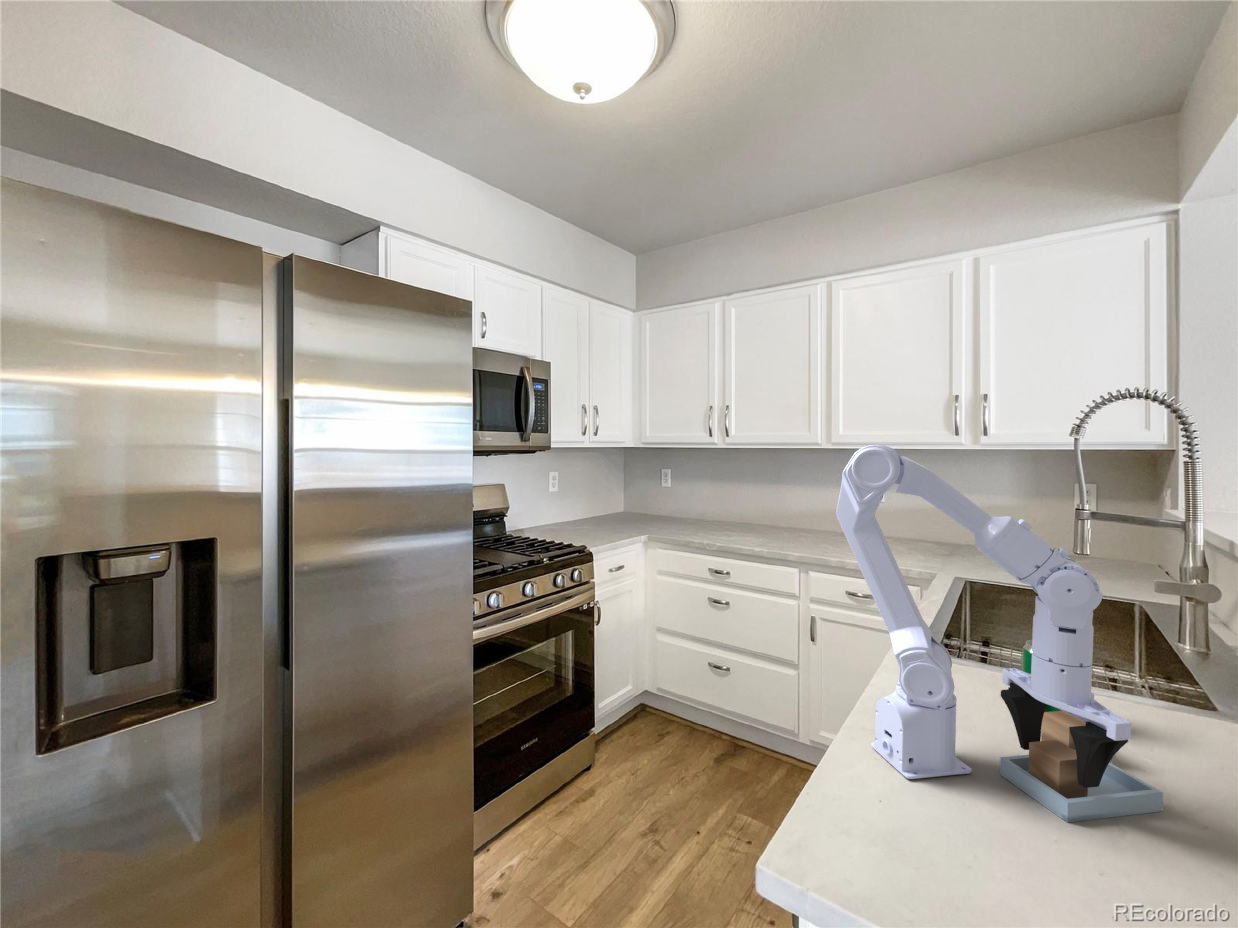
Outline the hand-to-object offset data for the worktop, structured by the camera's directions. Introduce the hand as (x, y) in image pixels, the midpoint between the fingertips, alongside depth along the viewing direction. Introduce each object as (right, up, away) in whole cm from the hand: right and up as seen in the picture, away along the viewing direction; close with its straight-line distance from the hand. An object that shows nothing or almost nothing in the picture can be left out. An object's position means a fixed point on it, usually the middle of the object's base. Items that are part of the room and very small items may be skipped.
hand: (1057, 765), depth 66 cm
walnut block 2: (0, -3, 0) cm, 3 cm away
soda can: (+12, -3, +18) cm, 22 cm away
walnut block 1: (+9, -3, +9) cm, 13 cm away
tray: (+3, -4, 0) cm, 5 cm away
